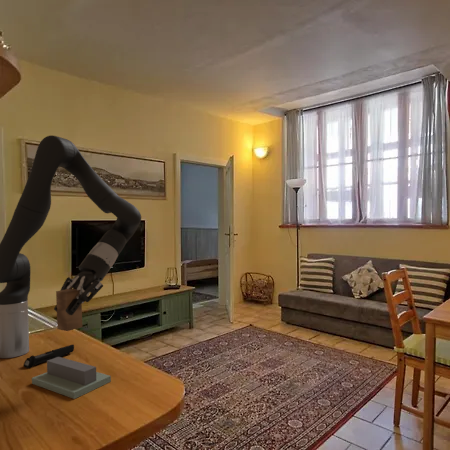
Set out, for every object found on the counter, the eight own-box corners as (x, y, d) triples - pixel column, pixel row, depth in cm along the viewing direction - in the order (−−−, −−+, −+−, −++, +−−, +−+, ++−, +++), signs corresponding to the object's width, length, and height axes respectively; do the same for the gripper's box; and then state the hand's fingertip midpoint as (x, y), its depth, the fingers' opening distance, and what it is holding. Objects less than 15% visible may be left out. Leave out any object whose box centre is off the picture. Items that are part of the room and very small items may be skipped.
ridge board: (31, 383, 97) (31, 364, 97) (68, 369, 106) (68, 351, 106) (74, 398, 87) (73, 378, 87) (110, 381, 96) (110, 362, 96)
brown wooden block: (57, 329, 96) (56, 291, 96) (72, 324, 100) (70, 288, 100) (67, 331, 94) (66, 292, 94) (82, 326, 97) (81, 289, 97)
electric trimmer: (76, 354, 120) (76, 344, 120) (28, 369, 107) (28, 358, 107) (70, 352, 122) (70, 342, 122) (22, 367, 109) (22, 356, 109)
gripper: (75, 252, 107) (36, 302, 96) (108, 253, 99) (70, 306, 89) (91, 268, 111) (55, 317, 101) (123, 270, 104) (89, 323, 93)
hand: (62, 312), depth 95 cm, fingers closed on brown wooden block, 4 cm apart
